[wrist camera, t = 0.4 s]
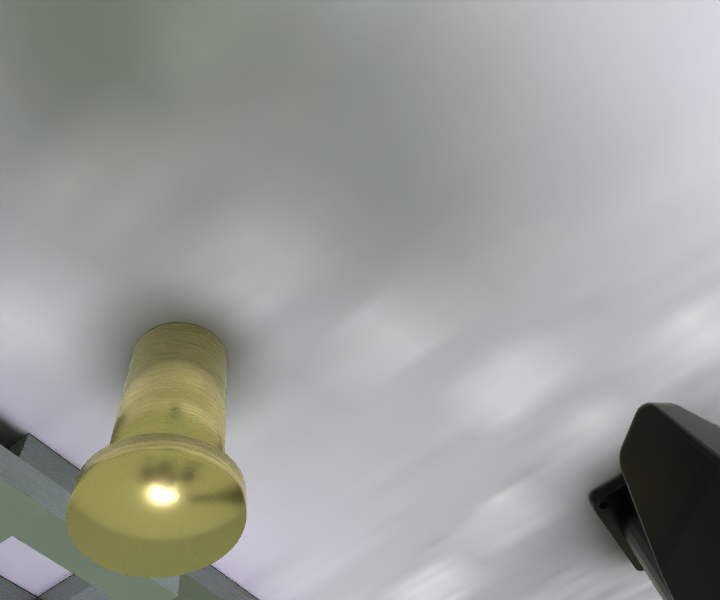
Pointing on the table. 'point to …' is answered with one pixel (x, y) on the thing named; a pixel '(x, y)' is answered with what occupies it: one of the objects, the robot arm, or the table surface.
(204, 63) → the table surface
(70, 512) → the brass pin
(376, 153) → the table surface
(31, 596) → the plate with square hole
